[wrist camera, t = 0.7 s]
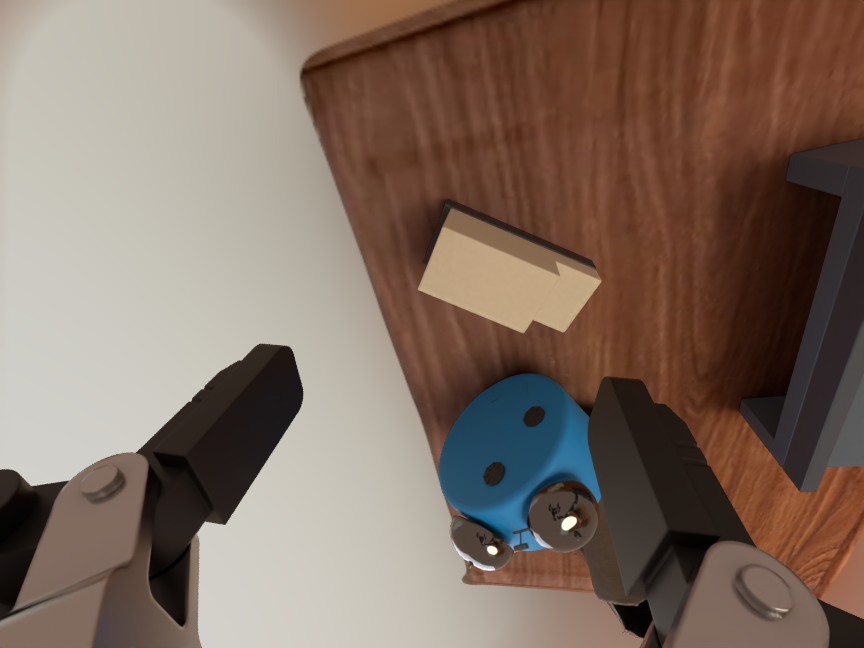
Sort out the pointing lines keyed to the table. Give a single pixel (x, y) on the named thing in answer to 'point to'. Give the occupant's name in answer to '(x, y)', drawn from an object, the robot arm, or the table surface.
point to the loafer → (614, 581)
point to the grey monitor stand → (825, 337)
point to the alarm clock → (520, 473)
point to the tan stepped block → (504, 271)
